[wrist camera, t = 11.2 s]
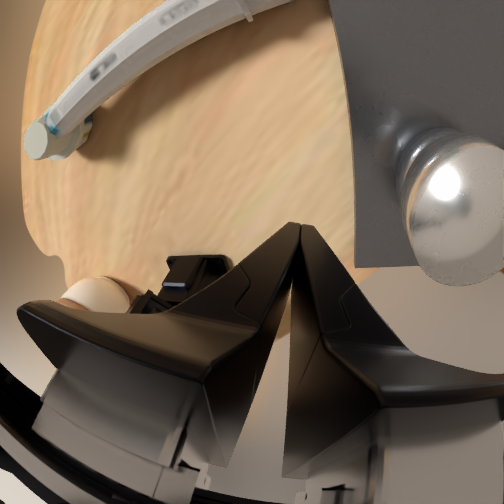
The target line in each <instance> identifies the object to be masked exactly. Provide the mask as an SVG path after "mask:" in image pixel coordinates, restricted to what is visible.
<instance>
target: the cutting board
mask: <svg viewBox="0 0 504 504" xmlns="http://www.w3.org/2000/svg"><path fill="white" fill-rule="evenodd" d="M327 2H328V6H329V9H330V13H331V17H332V22H333V26H334V30H335V35H336V40H337V45H338V50H339V55H340V60H341V66H342V72H343V78H344V85H345V92H346V99H347V107H348V115H349V124H350V135H351V146H352V160H353V178H354V212H355V239H354V265H355V268H370V267H397V266H420V265H419V264H418V261H417V259H416V257H415V254H414V251H413V249H412V246H411V244H410V241H409V238H408V236H407V234H406V231H405V229H404V226H403V223H402V220H401V214H400V195H401V190H402V185H403V182H404V179H405V176H406V174H407V172H408V170H409V168H410V166H411V164H412V163H413V161H414V160H415V158H416V157H417V156H418V155H419V153H420V152H421V151H422V150H423V149H424V148H425V147H426V146H428V145H429V144H430V143H432V142H433V141H435V140H436V139H438V138H440V137H442V136H445V135H447V134H451V133H456V132H467V133H473V134H476V135H479V136H481V137H483V138H485V139H487V140H488V141H490V142H492V143H493V144H495V145H496V146H498V147H499V148H501V149H503V150H504V0H327Z"/></svg>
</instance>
